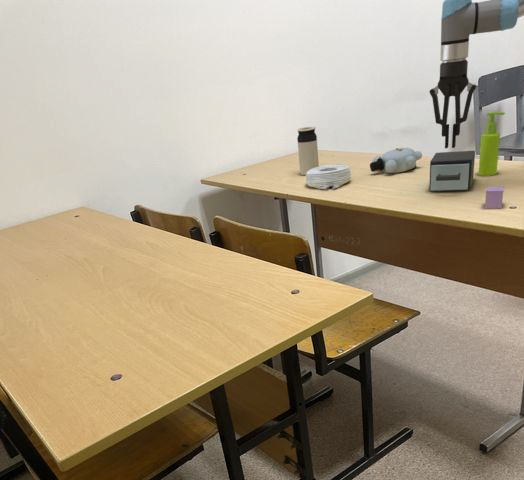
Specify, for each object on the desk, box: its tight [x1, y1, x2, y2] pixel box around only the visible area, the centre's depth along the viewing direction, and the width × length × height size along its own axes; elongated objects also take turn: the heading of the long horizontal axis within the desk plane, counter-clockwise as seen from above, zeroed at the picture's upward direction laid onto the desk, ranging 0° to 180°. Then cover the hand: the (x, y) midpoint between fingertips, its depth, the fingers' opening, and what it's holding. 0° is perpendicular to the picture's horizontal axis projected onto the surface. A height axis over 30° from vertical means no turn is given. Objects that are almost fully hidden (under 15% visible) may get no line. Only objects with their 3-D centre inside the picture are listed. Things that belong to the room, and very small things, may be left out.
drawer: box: [431, 162, 469, 191], centre depth 172 cm, size 18×11×8 cm, turn 158°
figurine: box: [369, 147, 423, 174], centre depth 208 cm, size 17×8×20 cm
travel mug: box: [296, 126, 320, 176], centre depth 221 cm, size 8×8×18 cm
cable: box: [304, 164, 352, 191], centre depth 202 cm, size 18×18×6 cm
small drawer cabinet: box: [428, 150, 476, 193], centre depth 176 cm, size 15×13×10 cm
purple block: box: [484, 186, 505, 210], centre depth 152 cm, size 4×4×5 cm
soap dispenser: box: [478, 111, 506, 177], centre depth 181 cm, size 6×7×20 cm
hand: (450, 147), depth 163 cm, fingers closed
